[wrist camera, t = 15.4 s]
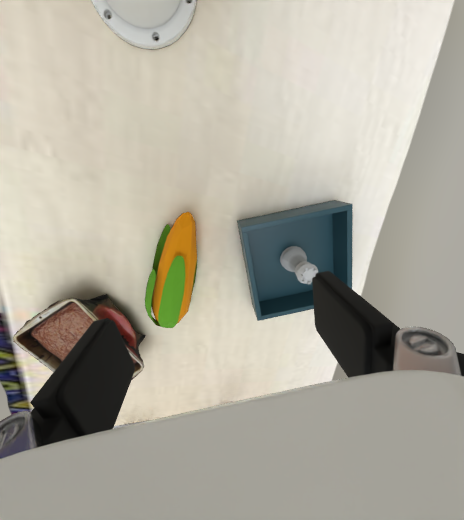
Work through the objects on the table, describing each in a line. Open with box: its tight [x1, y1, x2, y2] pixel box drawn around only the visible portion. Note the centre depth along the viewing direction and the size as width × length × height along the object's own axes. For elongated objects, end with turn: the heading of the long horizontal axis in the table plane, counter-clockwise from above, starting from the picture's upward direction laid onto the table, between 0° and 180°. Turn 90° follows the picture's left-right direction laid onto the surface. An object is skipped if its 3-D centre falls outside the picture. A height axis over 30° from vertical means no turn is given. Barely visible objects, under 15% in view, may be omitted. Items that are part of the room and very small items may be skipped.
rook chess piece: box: [280, 246, 318, 284], centre depth 37 cm, size 4×4×8 cm
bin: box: [237, 200, 352, 321], centre depth 38 cm, size 17×17×5 cm
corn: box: [145, 212, 197, 328], centre depth 36 cm, size 7×8×20 cm
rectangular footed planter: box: [13, 294, 145, 380], centre depth 39 cm, size 14×18×10 cm
